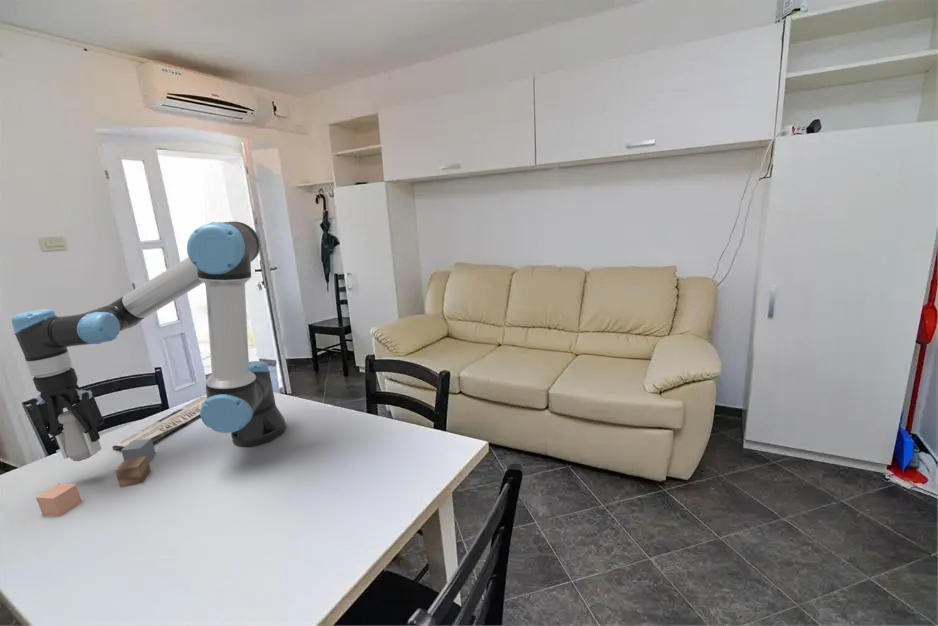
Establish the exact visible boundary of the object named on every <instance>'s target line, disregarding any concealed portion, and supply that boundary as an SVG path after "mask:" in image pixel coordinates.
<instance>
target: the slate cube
mask: <svg viewBox="0 0 938 626" xmlns="http://www.w3.org/2000/svg"><path fill="white" fill-rule="evenodd" d="M120 451H121V455H122V458H123V461H124V460H127V459H132V458H138V457H143V456H147V459H148V461H149V460H151V459H152V457H154V456H156V454H157V453H156V449H155V446H154V443H153V442H152V439H143V440H134V441H132V442H131V443H129V444H128V445H127V446H126V447H124V448H123V449H120Z"/></svg>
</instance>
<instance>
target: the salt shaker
mask: <svg viewBox="0 0 938 626" xmlns="http://www.w3.org/2000/svg"><path fill="white" fill-rule="evenodd" d="M58 421H59V423H61V424H63V428H64V430H63V431H64V437H65V448H66V455H67V456H68V458H69V459H70V460H72V461H74V462H82V461H84V460H87V459H90V458H91V457H92V456H93V455H91V454H90V452H89V449H88V446H87V443H86V441H85V438H84V435H83V433H84V431H86V430H85V429H84V428H83V426H82V425H81V424H80V422H79V421H78V420H77V418H76V417H75V416H74V414H73V413H72V412H71V411H69V410H67V411H63V413H61V414H60V415H59V416H58Z"/></svg>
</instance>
